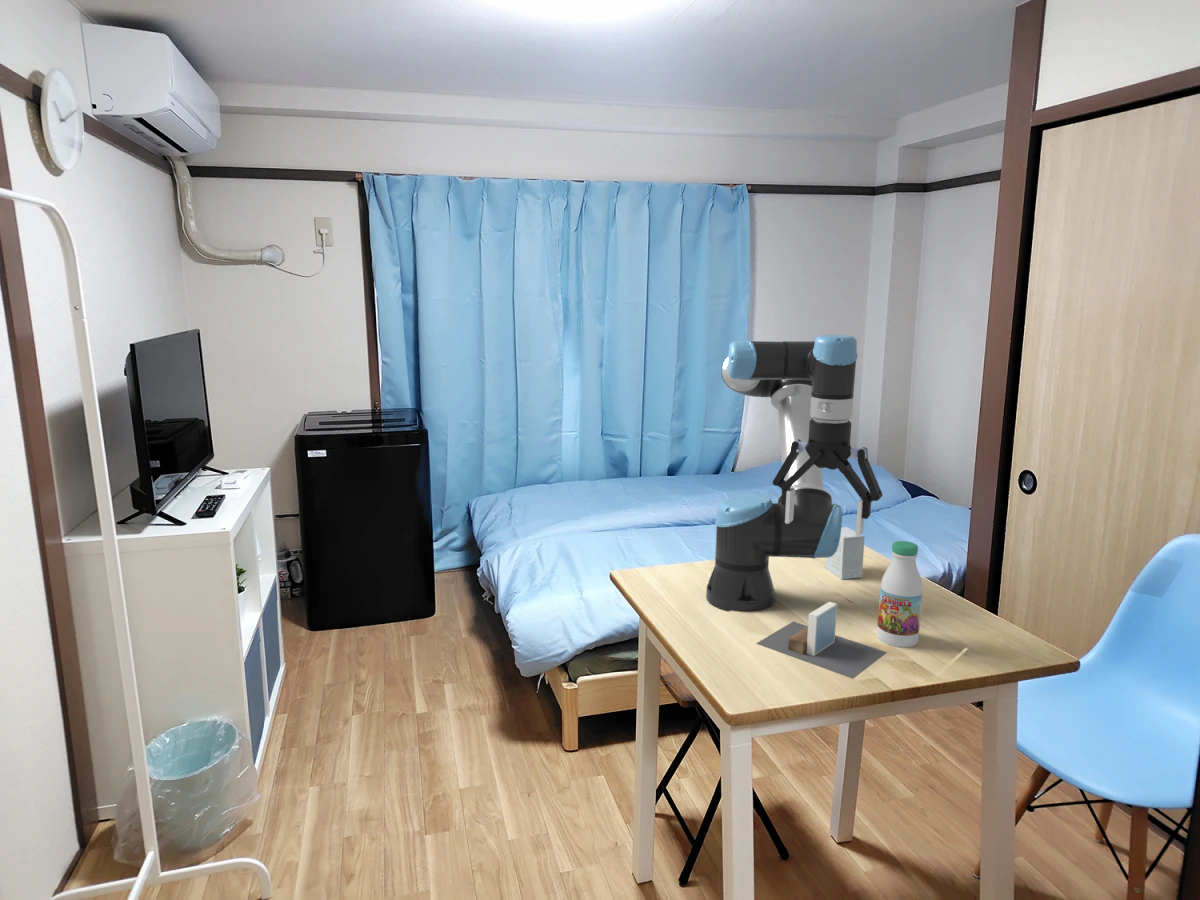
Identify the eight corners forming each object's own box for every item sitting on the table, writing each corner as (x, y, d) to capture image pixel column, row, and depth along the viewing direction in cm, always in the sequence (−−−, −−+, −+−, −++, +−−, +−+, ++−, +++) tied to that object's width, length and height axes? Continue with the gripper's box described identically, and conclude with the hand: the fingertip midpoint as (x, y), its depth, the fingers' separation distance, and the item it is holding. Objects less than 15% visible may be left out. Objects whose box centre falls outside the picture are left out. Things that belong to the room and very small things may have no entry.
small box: (862, 578, 186) (865, 536, 184) (841, 580, 185) (844, 537, 183) (845, 566, 194) (848, 526, 192) (824, 568, 193) (827, 527, 191)
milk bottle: (877, 629, 159) (885, 535, 154) (918, 635, 156) (927, 540, 151) (875, 645, 152) (882, 547, 147) (917, 652, 149) (926, 552, 144)
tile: (806, 653, 147) (808, 613, 146) (826, 639, 153) (829, 601, 151) (814, 656, 146) (816, 616, 145) (834, 642, 152) (837, 603, 150)
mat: (756, 645, 152) (756, 643, 152) (793, 623, 162) (793, 621, 161) (852, 680, 138) (852, 678, 138) (886, 654, 148) (886, 652, 148)
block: (788, 649, 149) (788, 637, 148) (814, 633, 156) (814, 621, 156) (802, 654, 147) (803, 642, 146) (828, 637, 154) (828, 626, 153)
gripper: (759, 415, 148) (754, 521, 153) (895, 430, 135) (885, 545, 140) (773, 409, 154) (768, 511, 159) (905, 422, 141) (895, 533, 146)
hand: (823, 527), depth 150 cm, fingers open, 13 cm apart
